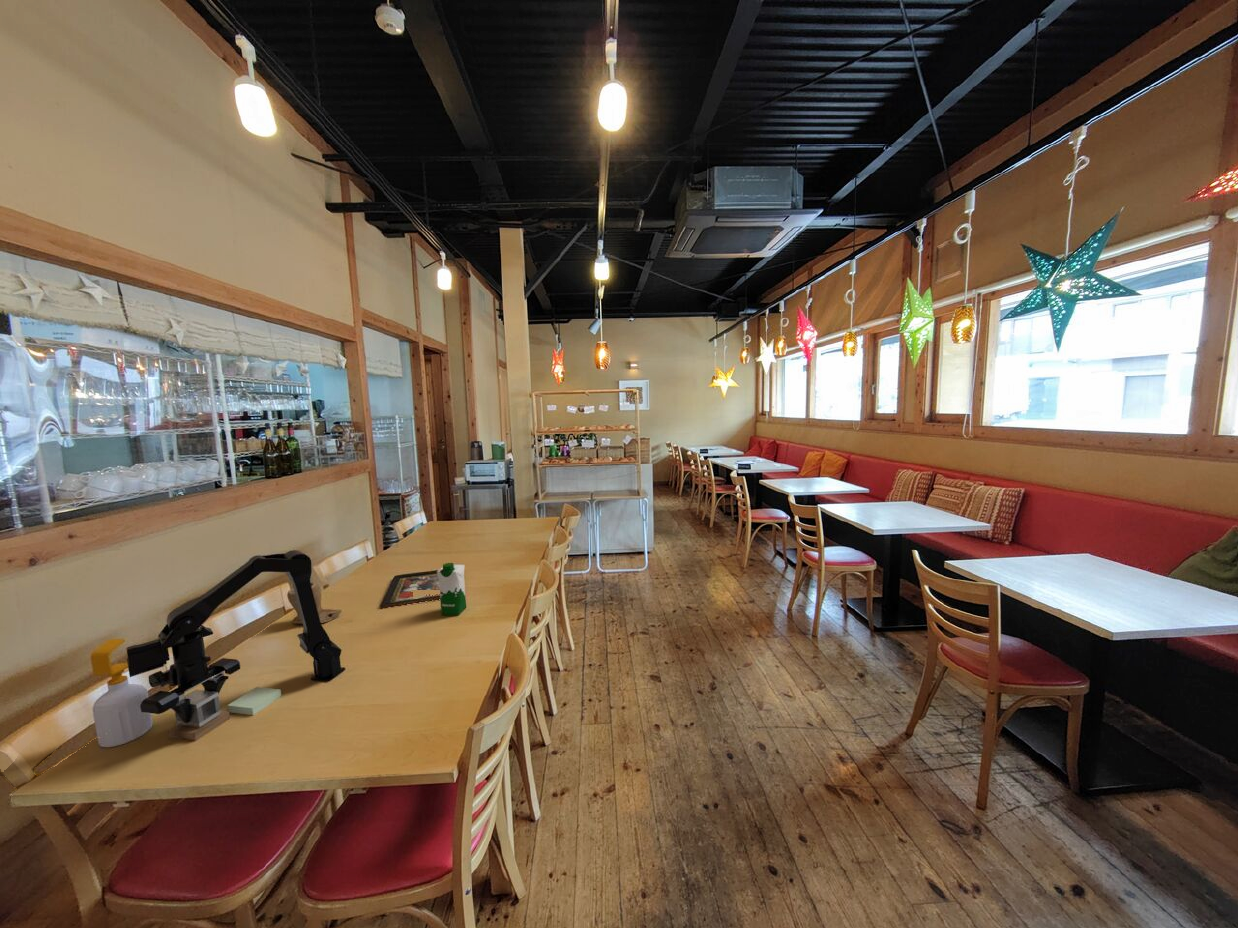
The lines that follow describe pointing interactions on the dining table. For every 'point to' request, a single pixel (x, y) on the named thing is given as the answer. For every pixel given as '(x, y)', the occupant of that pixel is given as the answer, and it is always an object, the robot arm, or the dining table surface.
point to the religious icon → (410, 588)
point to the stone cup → (324, 614)
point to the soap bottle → (118, 701)
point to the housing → (201, 708)
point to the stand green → (254, 701)
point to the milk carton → (452, 589)
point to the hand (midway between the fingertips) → (198, 714)
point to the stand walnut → (198, 728)
